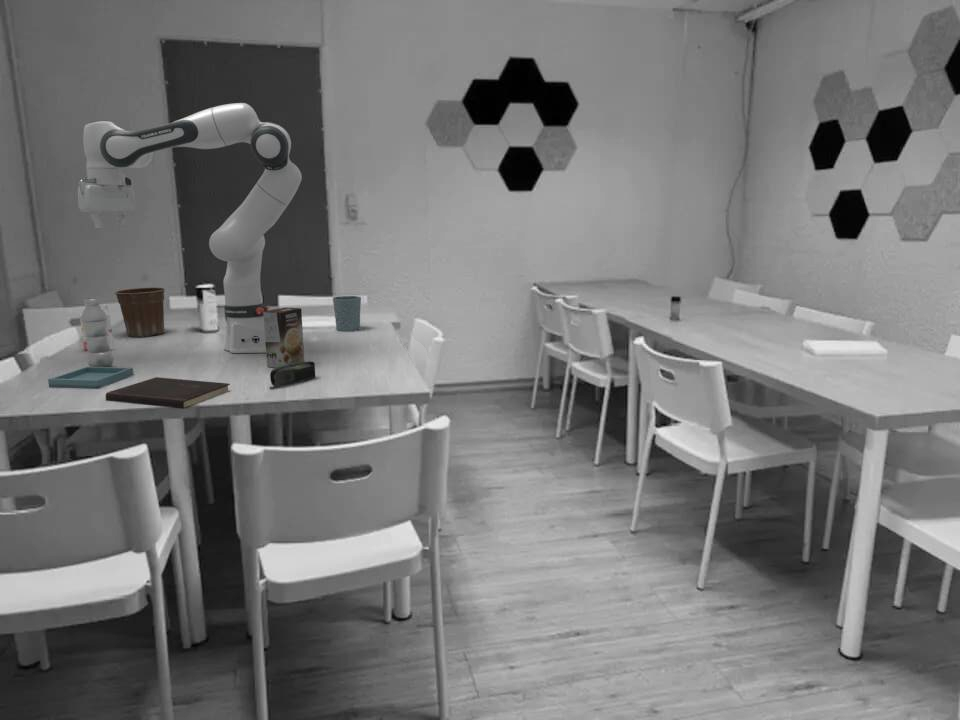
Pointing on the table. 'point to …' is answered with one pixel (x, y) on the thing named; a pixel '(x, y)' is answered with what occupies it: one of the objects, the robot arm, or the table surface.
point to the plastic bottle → (96, 334)
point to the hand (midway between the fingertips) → (110, 227)
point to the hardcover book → (167, 392)
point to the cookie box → (283, 336)
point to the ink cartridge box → (109, 329)
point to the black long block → (292, 374)
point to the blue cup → (347, 313)
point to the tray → (90, 377)
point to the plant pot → (142, 311)
